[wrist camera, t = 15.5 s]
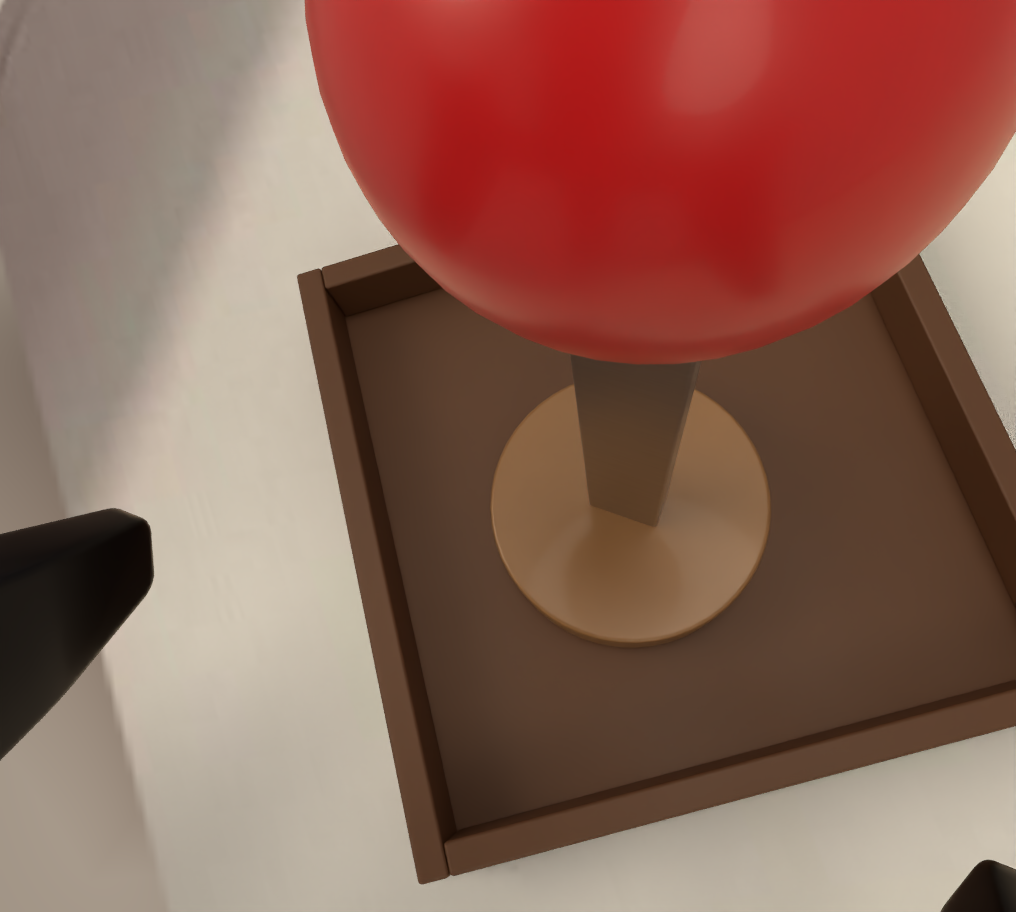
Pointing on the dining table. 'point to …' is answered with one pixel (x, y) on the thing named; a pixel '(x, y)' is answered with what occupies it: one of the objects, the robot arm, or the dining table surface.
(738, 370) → the tray
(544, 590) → the red knob post
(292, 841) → the dining table surface
